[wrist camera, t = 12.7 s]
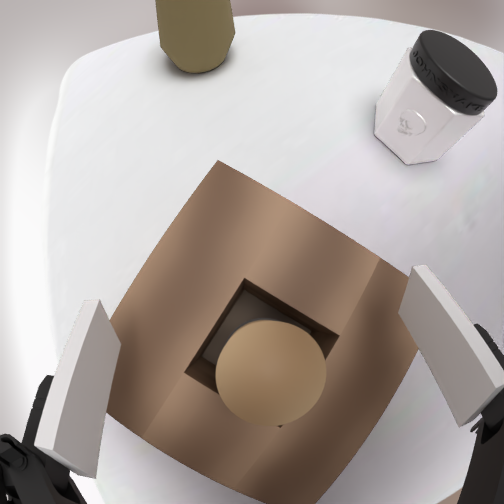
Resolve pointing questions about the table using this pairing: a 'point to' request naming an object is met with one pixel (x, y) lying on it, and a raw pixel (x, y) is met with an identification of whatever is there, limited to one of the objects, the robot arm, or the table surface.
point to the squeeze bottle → (195, 32)
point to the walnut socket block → (247, 308)
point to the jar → (433, 98)
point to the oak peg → (270, 372)
